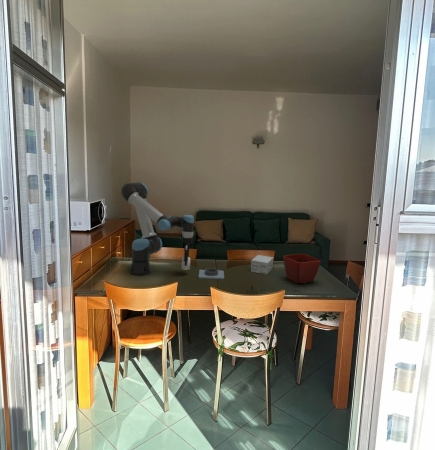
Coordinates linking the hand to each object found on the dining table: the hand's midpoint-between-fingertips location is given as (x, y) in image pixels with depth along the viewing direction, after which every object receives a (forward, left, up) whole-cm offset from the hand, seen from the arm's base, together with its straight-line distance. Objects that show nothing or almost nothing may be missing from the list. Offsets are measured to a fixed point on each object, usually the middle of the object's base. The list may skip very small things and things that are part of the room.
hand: (185, 268), depth 242 cm
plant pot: (+82, -4, -5) cm, 82 cm away
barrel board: (+19, 0, -4) cm, 19 cm away
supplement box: (+57, +17, -5) cm, 60 cm away
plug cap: (0, 0, 0) cm, 0 cm away
